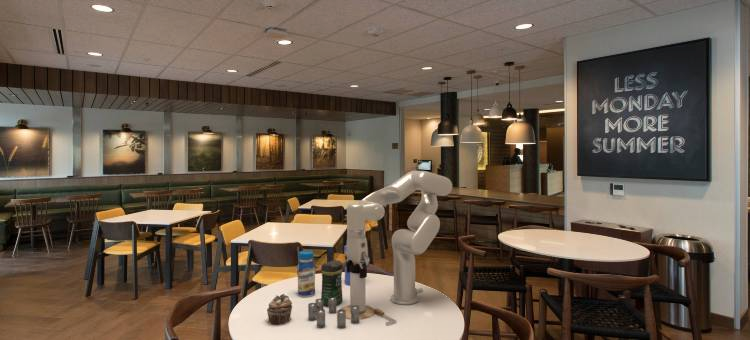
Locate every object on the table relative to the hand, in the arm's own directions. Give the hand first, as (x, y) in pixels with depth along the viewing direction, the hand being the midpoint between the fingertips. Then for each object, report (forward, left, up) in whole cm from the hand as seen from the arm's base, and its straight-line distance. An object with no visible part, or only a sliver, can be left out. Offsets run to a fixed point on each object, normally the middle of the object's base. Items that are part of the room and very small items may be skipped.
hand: (356, 274), depth 164 cm
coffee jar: (+3, -15, -16) cm, 22 cm away
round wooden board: (0, 0, -16) cm, 16 cm away
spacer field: (+12, +1, -16) cm, 20 cm away
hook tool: (-4, +12, -16) cm, 20 cm away
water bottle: (-20, -33, -16) cm, 42 cm away
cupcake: (+29, -11, -16) cm, 35 cm away
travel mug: (0, +1, -15) cm, 15 cm away
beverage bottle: (+7, -32, -16) cm, 36 cm away
